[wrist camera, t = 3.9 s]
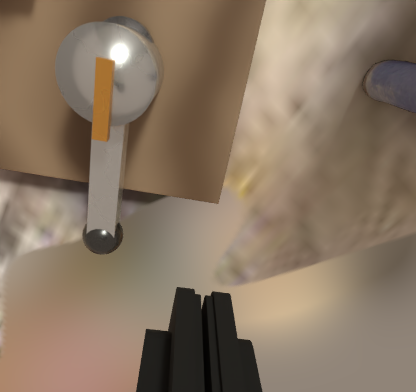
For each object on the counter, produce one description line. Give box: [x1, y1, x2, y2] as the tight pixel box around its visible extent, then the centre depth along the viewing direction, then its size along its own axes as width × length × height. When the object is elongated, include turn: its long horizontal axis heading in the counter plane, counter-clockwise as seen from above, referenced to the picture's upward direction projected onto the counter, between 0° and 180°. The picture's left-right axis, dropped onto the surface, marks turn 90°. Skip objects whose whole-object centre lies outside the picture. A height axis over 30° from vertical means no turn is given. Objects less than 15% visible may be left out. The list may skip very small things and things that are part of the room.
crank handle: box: [55, 16, 164, 254], centre depth 18 cm, size 13×4×5 cm, turn 169°
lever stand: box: [0, 0, 266, 204], centre depth 18 cm, size 16×15×5 cm
